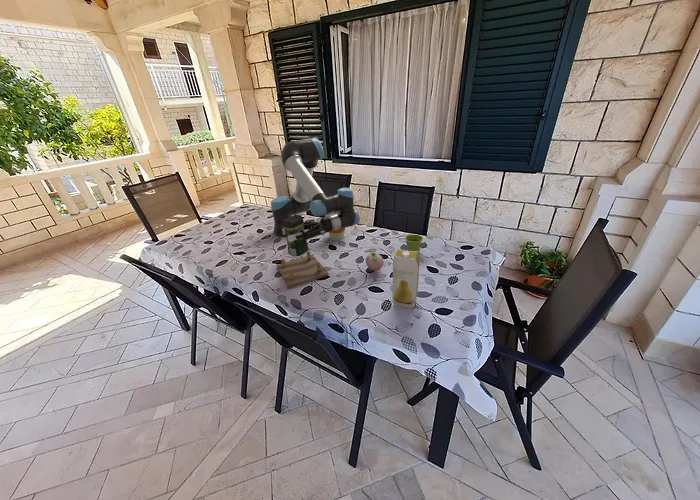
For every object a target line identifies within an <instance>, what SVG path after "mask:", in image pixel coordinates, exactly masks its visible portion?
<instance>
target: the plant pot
mask: <svg viewBox="0 0 700 500" xmlns="http://www.w3.org/2000/svg"><path fill="white" fill-rule="evenodd" d="M404 240H405V243H406V251H418V253H419V254H420V251H421V245H422V242H423V241H424V237H423V236H422V235H419V234H414V233H413V234H408V235H406V236H404Z"/></svg>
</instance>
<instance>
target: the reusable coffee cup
mask: <svg viewBox="0 0 700 500" xmlns="http://www.w3.org/2000/svg"><path fill="white" fill-rule="evenodd" d="M336 214H339V211H335V212H332V213H329V214H326V215H324V217H329V216H331V215H336ZM345 231H346V227H345V228H341V229H338V230H337V231H336V230H334V231H331V232H328V235H329V239H330V240H332V241H340V240H343V239H344V238H345Z"/></svg>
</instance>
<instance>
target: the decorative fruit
mask: <svg viewBox="0 0 700 500" xmlns="http://www.w3.org/2000/svg"><path fill="white" fill-rule="evenodd" d="M384 263H385V261H384V258H383V256H381V254H378V253H377V252H372V251H371V252H370V253H369V254H368V255H367V256H366V258H365V264H366V266H367V267H368V269H369V271H372V272H378V271H380V270H381V269H382V268H383V266H384Z"/></svg>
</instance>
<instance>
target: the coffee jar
mask: <svg viewBox="0 0 700 500" xmlns="http://www.w3.org/2000/svg"><path fill="white" fill-rule="evenodd" d="M282 222H283V228H284V230H285V232H286V236H285V237H286V243H287V244H286V245H287V251H288V254H289V256H292V257H300V256H302V255H304V254H305V253H306V254H307V251H309V244H308V240H306V238H305V239H304V238H302V239H298V240H294V241H291V242H289V241H288V236H289V235H293V234H297V233H301V232H305V230H304V222H305V221H304V218H303V215H300V214H295V215H292V216H291V217H289V218H287V219H285V220H283V221H282ZM302 234H303V233H302Z"/></svg>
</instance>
